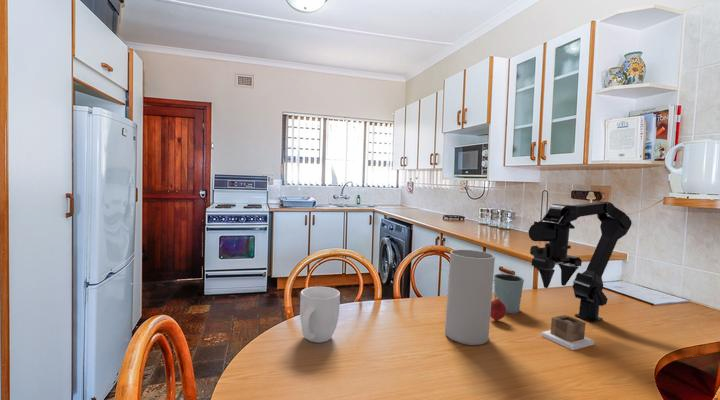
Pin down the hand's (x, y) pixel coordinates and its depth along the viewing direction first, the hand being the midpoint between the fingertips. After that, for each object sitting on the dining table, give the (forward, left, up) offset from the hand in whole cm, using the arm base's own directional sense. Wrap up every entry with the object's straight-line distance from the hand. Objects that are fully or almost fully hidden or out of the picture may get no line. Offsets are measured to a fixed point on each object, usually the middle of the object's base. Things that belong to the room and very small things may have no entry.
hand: (554, 286), depth 125 cm
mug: (+80, -15, -12) cm, 82 cm away
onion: (+19, -7, -12) cm, 24 cm away
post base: (+10, +12, -12) cm, 20 cm away
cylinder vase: (+38, -1, -12) cm, 40 cm away
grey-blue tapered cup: (+6, -14, -12) cm, 20 cm away
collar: (+10, +12, -11) cm, 19 cm away
